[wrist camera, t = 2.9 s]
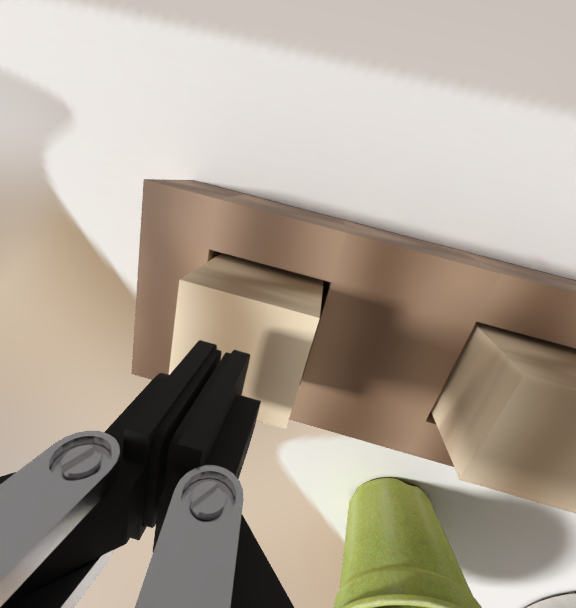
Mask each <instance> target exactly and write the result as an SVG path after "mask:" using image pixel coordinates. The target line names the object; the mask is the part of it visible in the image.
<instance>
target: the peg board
mask: <svg viewBox="0 0 576 608" xmlns="http://www.w3.org/2000/svg"><path fill="white" fill-rule="evenodd" d="M221 253H225V254H228V255H232V256H236V257H239V258H243V259H247V260H251V261H254V262H258V263H262V264H265V265H269V266H273V267H276V268H280V269H284V270H287V271H291V272H295V273H299V274H302V275H306V276H310V277H313V278H317V279H321V280H324V281H325V284H324V287H323V292H322V301H321V311H320V319H319V322H318V325H317V329H316V332H315V335H314V338H313V342H312V345H311V348H310V352H309V355H308V358H307V361H306V365H305V368H304V371H303V375H302V378H301V381H300V384H299V388H298V391H297V394H296V398H295V401H294V404H293V407H292V411H291V414H290V417H289V419H290V420H293V421H297V422H300V423H304V424H307V425H311V426H314V427H318V428H322V429H325V430H328V431H331V432H335V433H339V434H342V435H345V436H349V437H352V438H356V439H359V440H363V441H366V442H370V443H373V444H376V445H380V446H383V447H387V448H390V449H394V450H397V451H401V452H404V453H408V454H411V455H415V456H418V457H421V458H425V459H428V460H432V461H435V462H439V463H442V464H446V465H449V466H453V467H454V465H453V462H452V460H451V458H450V455H449V453H448V451H447V448H446V446H445V444H444V441H443V439H442V436H441V434H440V432H439V429H438V427H437V425H436V422H435V420H434V417H433V415H432V413H431V410H432V408H433V406H434V404H435V402H436V400H437V398H438V396H439V394H440V392H441V390H442V388H443V386H444V384H445V382H446V380H447V378H448V376H449V374H450V372H451V370H452V369H453V367H454V365H455V363H456V361H457V359H458V357H459V355H460V353H461V351H462V349H463V347H464V345H465V343H466V341H467V339H468V337H469V335H470V333H471V331H472V329H473V327H474V326H475V324H476V322H480V323H483V324H487V325H491V326H495V327H498V328H502V329H506V330H509V331H513V332H517V333H520V334H524V335H528V336H532V337H535V338H539V339H543V340H546V341H550V342H554V343H557V344H561V345H565V346H569V347H572V348H576V281H575V280H571V279H567V278H563V277H560V276H556V275H552V274H548V273H544V272H540V271H537V270H533V269H529V268H525V267H521V266H518V265H514V264H510V263H506V262H502V261H498V260H495V259H491V258H487V257H483V256H479V255H476V254H472V253H468V252H464V251H460V250H457V249H453V248H449V247H445V246H441V245H437V244H434V243H430V242H426V241H422V240H418V239H415V238H411V237H407V236H403V235H399V234H396V233H392V232H388V231H384V230H380V229H376V228H373V227H369V226H365V225H361V224H357V223H354V222H350V221H346V220H342V219H338V218H335V217H331V216H327V215H323V214H319V213H315V212H312V211H308V210H304V209H300V208H296V207H293V206H289V205H285V204H281V203H277V202H274V201H270V200H266V199H262V198H258V197H254V196H251V195H247V194H243V193H239V192H235V191H232V190H228V189H224V188H220V187H216V186H213V185H209V184H205V183H201V182H197V181H193V180H150V179H144V185H143V201H142V217H141V233H140V249H139V265H138V281H137V297H136V313H135V329H134V345H133V361H132V374H134V375H138V376H141V377H145V378H148V379H152V380H153V379H154V378H155V377H156V376H157V375H158V374H159V373H165V374H168V375H169V366H170V358H171V349H172V340H173V331H174V323H175V314H176V305H177V297H178V288H179V279H181V278H183V277H184V276H186V275H187V274H189V273H191V272H192V271H194V270H195V269H197V268H199V267H200V266H202V265H203V264H205V263H207V262H208V261H210V260H211V259H213V258H215V257H216V256H218V255H219V254H221Z"/></svg>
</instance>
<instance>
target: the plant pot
mask: <svg viewBox="0 0 576 608" xmlns="http://www.w3.org/2000/svg"><path fill="white" fill-rule="evenodd" d="M334 608H482V607H481V606H480V605H479V603H478V602H477V601H476V599H475V598H474V597H473V595H472V593H471V591H470V589H469V587H468V584H467V582H466V580H465V578H464V576H463V573H462V571H461V569H460V567H459V564H458V562H457V560H456V558H455V555H454V553H453V551H452V549H451V546H450V544H449V542H448V540H447V538H446V535H445V533H444V531H443V529H442V526H441V524H440V522H439V520H438V517H437V515H436V513H435V511H434V508H433V506H432V504H431V502H430V499H429V498H428V496H427V495H426V494H425V493H424V491H422V490H421V489H420V488H419V487H417V486H411V485H408V484H406V483H404V482H402V481H400V480H398V479H394V478H380V479H375V480H371V481H368V482H366V483H364V484H362V485H361V486H359V487H358V488H357V490H356V492H355V493H354V495H353V497H352V498H351V500H350V502H349V510H348V518H347V528H346V538H345V547H344V555H343V564H342V574H341V582H340V590H339V592H338V594H337V596H336V599H335V603H334Z"/></svg>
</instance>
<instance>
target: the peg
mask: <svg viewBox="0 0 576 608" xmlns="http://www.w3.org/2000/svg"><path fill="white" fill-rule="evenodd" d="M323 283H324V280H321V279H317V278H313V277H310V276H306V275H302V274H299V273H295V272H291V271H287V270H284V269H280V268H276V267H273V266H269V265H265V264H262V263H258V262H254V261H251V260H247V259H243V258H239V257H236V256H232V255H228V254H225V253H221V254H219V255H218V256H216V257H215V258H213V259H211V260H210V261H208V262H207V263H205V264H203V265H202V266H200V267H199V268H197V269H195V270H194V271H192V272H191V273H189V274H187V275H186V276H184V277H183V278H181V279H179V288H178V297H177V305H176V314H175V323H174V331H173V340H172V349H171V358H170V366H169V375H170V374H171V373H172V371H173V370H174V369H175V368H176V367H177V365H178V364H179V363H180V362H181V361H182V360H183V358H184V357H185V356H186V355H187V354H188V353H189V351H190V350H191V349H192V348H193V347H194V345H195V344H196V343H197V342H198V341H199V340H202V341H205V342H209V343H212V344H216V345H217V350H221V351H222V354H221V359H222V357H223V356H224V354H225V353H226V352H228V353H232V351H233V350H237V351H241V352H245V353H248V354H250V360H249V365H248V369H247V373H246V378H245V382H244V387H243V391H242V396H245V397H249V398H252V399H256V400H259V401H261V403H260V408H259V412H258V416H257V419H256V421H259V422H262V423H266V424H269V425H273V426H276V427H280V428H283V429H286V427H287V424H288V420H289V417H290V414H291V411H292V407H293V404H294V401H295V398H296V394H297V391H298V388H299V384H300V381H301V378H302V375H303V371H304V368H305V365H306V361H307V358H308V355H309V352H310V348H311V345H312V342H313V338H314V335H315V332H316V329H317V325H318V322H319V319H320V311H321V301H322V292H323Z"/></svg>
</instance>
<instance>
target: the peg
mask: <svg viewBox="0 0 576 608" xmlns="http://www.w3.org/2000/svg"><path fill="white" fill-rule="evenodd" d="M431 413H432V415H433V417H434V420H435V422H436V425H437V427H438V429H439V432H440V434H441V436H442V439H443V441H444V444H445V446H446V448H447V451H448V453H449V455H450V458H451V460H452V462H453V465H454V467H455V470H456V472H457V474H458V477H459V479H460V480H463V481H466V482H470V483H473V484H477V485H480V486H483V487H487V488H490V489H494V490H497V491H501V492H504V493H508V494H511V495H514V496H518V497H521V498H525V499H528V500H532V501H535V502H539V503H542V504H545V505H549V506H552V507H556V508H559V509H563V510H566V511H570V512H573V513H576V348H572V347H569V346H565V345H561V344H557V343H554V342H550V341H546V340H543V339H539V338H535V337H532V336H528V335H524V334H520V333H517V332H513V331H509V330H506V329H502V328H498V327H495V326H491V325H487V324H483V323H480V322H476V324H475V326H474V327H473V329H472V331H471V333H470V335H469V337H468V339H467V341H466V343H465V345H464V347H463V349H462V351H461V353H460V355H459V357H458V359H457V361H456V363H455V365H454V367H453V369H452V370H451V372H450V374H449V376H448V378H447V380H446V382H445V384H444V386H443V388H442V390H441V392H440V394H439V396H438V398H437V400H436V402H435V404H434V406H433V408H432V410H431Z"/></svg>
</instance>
